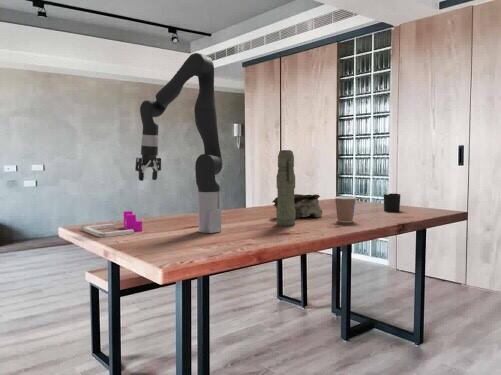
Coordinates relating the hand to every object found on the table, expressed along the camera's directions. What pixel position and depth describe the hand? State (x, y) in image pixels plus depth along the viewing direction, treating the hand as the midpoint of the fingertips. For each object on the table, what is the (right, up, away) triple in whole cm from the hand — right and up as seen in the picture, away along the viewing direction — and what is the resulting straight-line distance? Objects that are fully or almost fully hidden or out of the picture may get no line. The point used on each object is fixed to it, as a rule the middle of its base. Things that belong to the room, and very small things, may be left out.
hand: (148, 180), depth 195 cm
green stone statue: (+64, -21, +4) cm, 68 cm away
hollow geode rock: (+72, -20, +29) cm, 80 cm away
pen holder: (+131, -18, +53) cm, 143 cm away
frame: (-13, -22, -13) cm, 29 cm away
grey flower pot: (+94, -20, +13) cm, 97 cm away
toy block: (-5, -22, -7) cm, 24 cm away
